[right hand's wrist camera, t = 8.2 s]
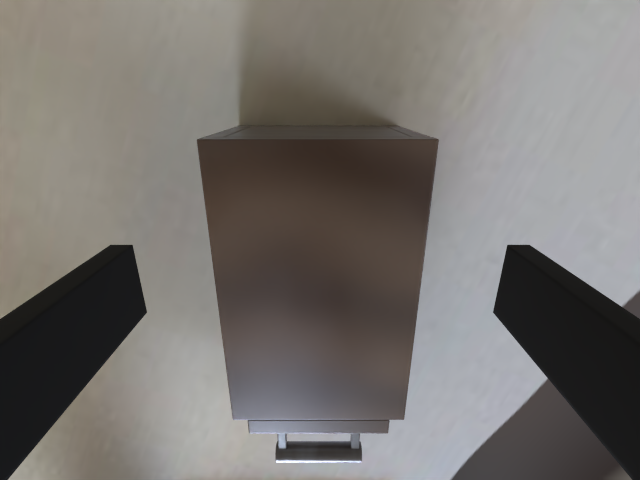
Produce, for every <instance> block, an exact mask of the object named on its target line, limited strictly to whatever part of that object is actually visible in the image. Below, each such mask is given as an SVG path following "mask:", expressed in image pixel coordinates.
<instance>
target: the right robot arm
mask: <svg viewBox="0 0 640 480" xmlns="http://www.w3.org/2000/svg"><path fill="white" fill-rule="evenodd" d="M146 313H147V311H146V306H145V301H144V297H143V292H142V287H141V283H140V278H139V273H138V269H137V264H136V259H135V254H134V250H133V245H110V246H108V247H107V248H105V249H104V250H102V251H101V252H99V253H98V254H96V255H95V256H93V257H92V258H90V259H89V260H87V261H86V262H85V263H83V264H82V265H80V266H79V267H77V268H76V269H74V270H73V271H71V272H70V273H68V274H67V275H65V276H64V277H62V278H61V279H59V280H58V281H56V282H55V283H53V284H52V285H50V286H49V287H47V288H46V289H44V290H43V291H41V292H40V293H38V294H37V295H35V296H34V297H32V298H31V299H29V300H28V301H26V302H25V303H23V304H22V305H21V306H19V307H18V308H16V309H15V310H13V311H12V312H10V313H9V314H7V315H6V316H4V317H3V318H1V319H0V480H8V479H9V477H10V476H11V475H12V474H13V473H14V471H15V470H16V469H17V468H18V467H19V465H20V464H21V463H22V462H23V461H24V459H25V458H26V457H27V456H28V455H29V453H30V452H31V451H32V450H33V449H34V447H35V446H36V445H37V444H38V442H39V441H40V440H41V439H42V438H43V436H44V435H45V434H46V433H47V432H48V430H49V429H50V428H51V427H52V426H53V424H54V423H55V422H56V421H57V420H58V418H59V417H60V416H61V415H62V414H63V412H64V411H65V410H66V409H67V408H68V406H69V405H70V404H71V403H72V402H73V400H74V399H75V398H76V397H77V396H78V394H79V393H80V392H81V391H82V390H83V388H84V387H85V386H86V385H87V384H88V382H89V381H90V380H91V379H92V378H93V376H94V375H95V374H96V373H97V372H98V370H99V369H100V368H101V367H102V366H103V364H104V363H105V362H106V361H107V360H108V358H109V357H110V356H111V355H112V354H113V352H114V351H115V350H116V349H117V348H118V346H119V345H120V344H121V343H122V342H123V340H124V339H125V338H126V337H127V336H128V334H129V333H130V332H131V331H132V330H133V328H134V327H135V326H136V325H137V324H138V322H139V321H140V320H141V319H142V318H143V316H144V315H145V314H146ZM493 313H494V314H495V315H496V316H497V318H498V319H499V320H500V321H501V322H502V324H503V325H504V326H505V327H506V328H507V330H508V331H509V332H510V333H511V334H512V336H513V337H514V338H515V339H516V340H517V342H518V343H519V344H520V345H521V346H522V348H523V349H524V350H525V351H526V352H527V354H528V355H529V356H530V357H531V358H532V360H533V361H534V362H535V363H536V364H537V366H538V367H539V368H540V369H541V370H542V372H543V373H544V374H545V375H546V376H547V378H548V379H549V380H550V381H551V382H552V384H553V385H554V386H555V387H556V388H557V390H558V391H559V392H560V393H561V394H562V396H563V397H564V398H565V399H566V400H567V402H568V403H569V404H570V405H571V406H572V408H573V409H574V410H575V411H576V412H577V414H578V415H579V416H580V417H581V418H582V420H583V421H584V422H585V423H586V424H587V426H588V427H589V428H590V429H591V430H592V432H593V433H594V434H595V435H596V436H597V438H598V439H599V440H600V441H601V442H602V444H603V445H604V446H605V447H606V448H607V450H608V451H609V452H610V453H611V454H612V456H613V457H614V458H615V459H616V460H617V462H618V463H619V464H620V465H621V467H622V468H623V469H624V470H625V471H626V473H627V474H628V475H629V476H630V477H631V479H632V480H640V319H639V318H637V317H636V316H634V315H633V314H631V313H630V312H628V311H627V310H625V309H624V308H622V307H621V306H619V305H618V304H617V303H615V302H614V301H612V300H611V299H609V298H608V297H606V296H605V295H603V294H602V293H600V292H599V291H597V290H596V289H594V288H593V287H591V286H590V285H588V284H587V283H585V282H584V281H582V280H581V279H579V278H578V277H576V276H575V275H573V274H572V273H570V272H569V271H567V270H566V269H564V268H563V267H561V266H560V265H558V264H557V263H555V262H554V261H553V260H551V259H550V258H548V257H547V256H545V255H544V254H542V253H541V252H539V251H538V250H536V249H535V248H533V247H532V246H530V245H507V250H506V254H505V259H504V264H503V269H502V273H501V278H500V283H499V287H498V292H497V297H496V301H495V306H494V311H493Z"/></svg>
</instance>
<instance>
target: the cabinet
mask: <svg viewBox="0 0 640 480" xmlns="http://www.w3.org/2000/svg"><path fill="white" fill-rule="evenodd" d="M438 142H439V140H438V139H436V138H433V137H429V136H426V135H423V134H420V133H417V132H414V131H411V130H408V129H405V128H403V127H400V126H237V127H234V128H231V129H228V130H224V131H221V132H218V133H215V134H212V135H209V136H206V137H203V138H200V139H197V145H198V152H199V160H200V168H201V176H202V183H203V191H204V199H205V207H206V215H207V222H208V230H209V238H210V246H211V253H212V261H213V269H214V277H215V284H216V292H217V300H218V308H219V315H220V323H221V331H222V339H223V346H224V354H225V362H226V370H227V377H228V385H229V393H230V401H231V408H232V416H233V420H404V415H405V407H406V399H407V391H408V383H409V375H410V367H411V359H412V351H413V343H414V335H415V327H416V318H417V310H418V302H419V294H420V286H421V278H422V270H423V262H424V254H425V246H426V238H427V230H428V222H429V214H430V206H431V198H432V190H433V182H434V174H435V166H436V158H437V150H438Z"/></svg>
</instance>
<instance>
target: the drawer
mask: <svg viewBox="0 0 640 480" xmlns="http://www.w3.org/2000/svg"><path fill="white" fill-rule="evenodd" d="M248 428H249V433H278V442H277V444H276V463H361V462H362V448H361V442H360V441H359V440H360V433H388V428H389V420H248ZM287 433H351V441H287Z"/></svg>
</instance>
